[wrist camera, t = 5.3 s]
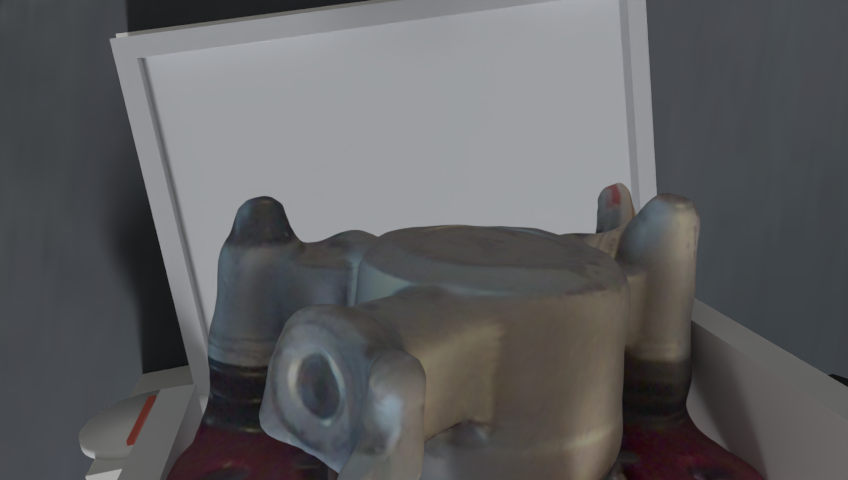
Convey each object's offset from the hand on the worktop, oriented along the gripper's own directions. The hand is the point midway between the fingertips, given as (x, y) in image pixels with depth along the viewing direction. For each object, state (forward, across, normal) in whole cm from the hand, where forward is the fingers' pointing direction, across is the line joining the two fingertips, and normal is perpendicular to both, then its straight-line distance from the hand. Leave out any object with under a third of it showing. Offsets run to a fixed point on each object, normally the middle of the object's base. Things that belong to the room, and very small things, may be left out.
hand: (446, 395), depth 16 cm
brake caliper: (+2, 0, 0) cm, 2 cm away
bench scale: (+18, 0, -1) cm, 18 cm away
